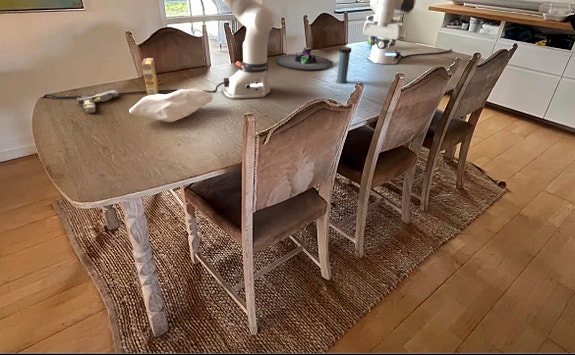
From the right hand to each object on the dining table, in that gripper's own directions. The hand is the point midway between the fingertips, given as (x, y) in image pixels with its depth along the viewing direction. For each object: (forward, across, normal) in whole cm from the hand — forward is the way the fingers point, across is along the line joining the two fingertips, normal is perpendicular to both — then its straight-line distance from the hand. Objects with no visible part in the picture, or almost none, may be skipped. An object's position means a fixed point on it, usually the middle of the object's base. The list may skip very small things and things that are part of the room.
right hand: (379, 46), depth 195 cm
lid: (0, +10, +21) cm, 23 cm away
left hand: (-31, +21, +35) cm, 52 cm away
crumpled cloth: (+17, +43, +106) cm, 116 cm away
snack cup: (+16, +27, -63) cm, 70 cm away
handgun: (+17, +75, +118) cm, 141 cm away
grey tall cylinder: (+17, +10, +21) cm, 29 cm away
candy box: (+17, +67, +97) cm, 119 cm away
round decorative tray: (+16, +45, +4) cm, 48 cm away
